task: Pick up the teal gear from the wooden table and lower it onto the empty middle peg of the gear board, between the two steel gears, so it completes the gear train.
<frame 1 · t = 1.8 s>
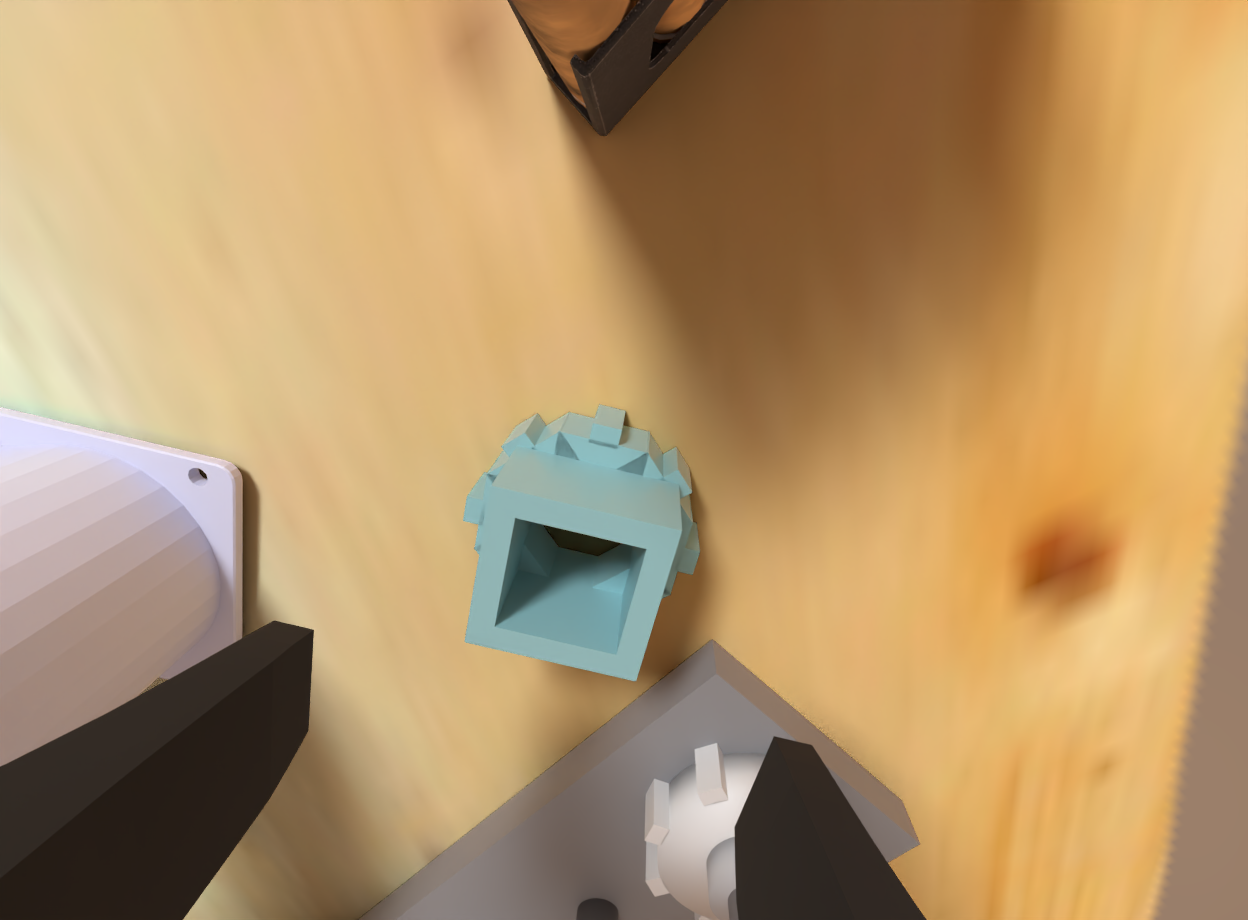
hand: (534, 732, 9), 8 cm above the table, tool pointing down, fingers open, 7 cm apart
gear board: (601, 868, 22), on the table
teal gear: (588, 508, 17), on the table
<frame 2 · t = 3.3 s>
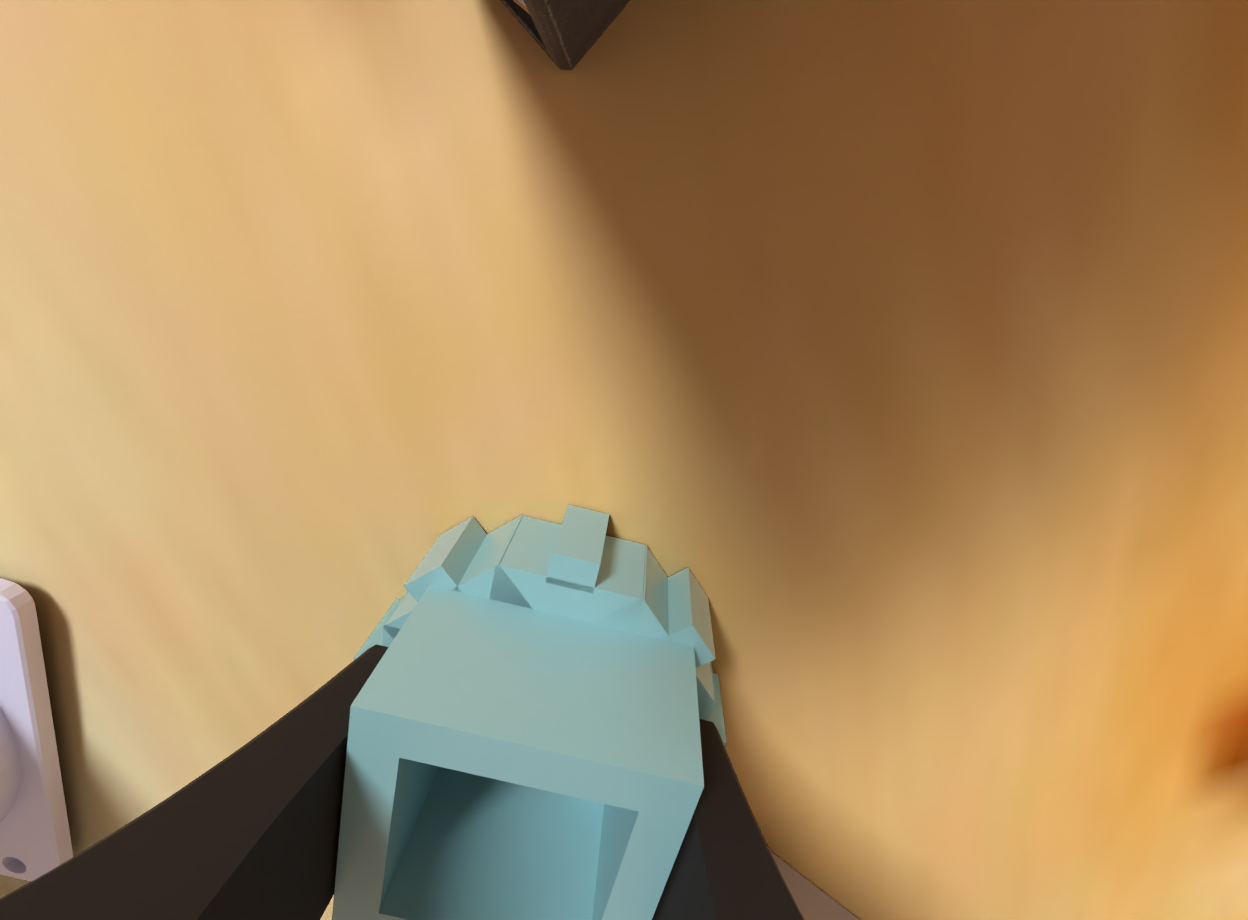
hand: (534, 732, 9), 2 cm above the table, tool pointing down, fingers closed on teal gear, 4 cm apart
teal gear: (554, 651, 11), on the table, touching gripper
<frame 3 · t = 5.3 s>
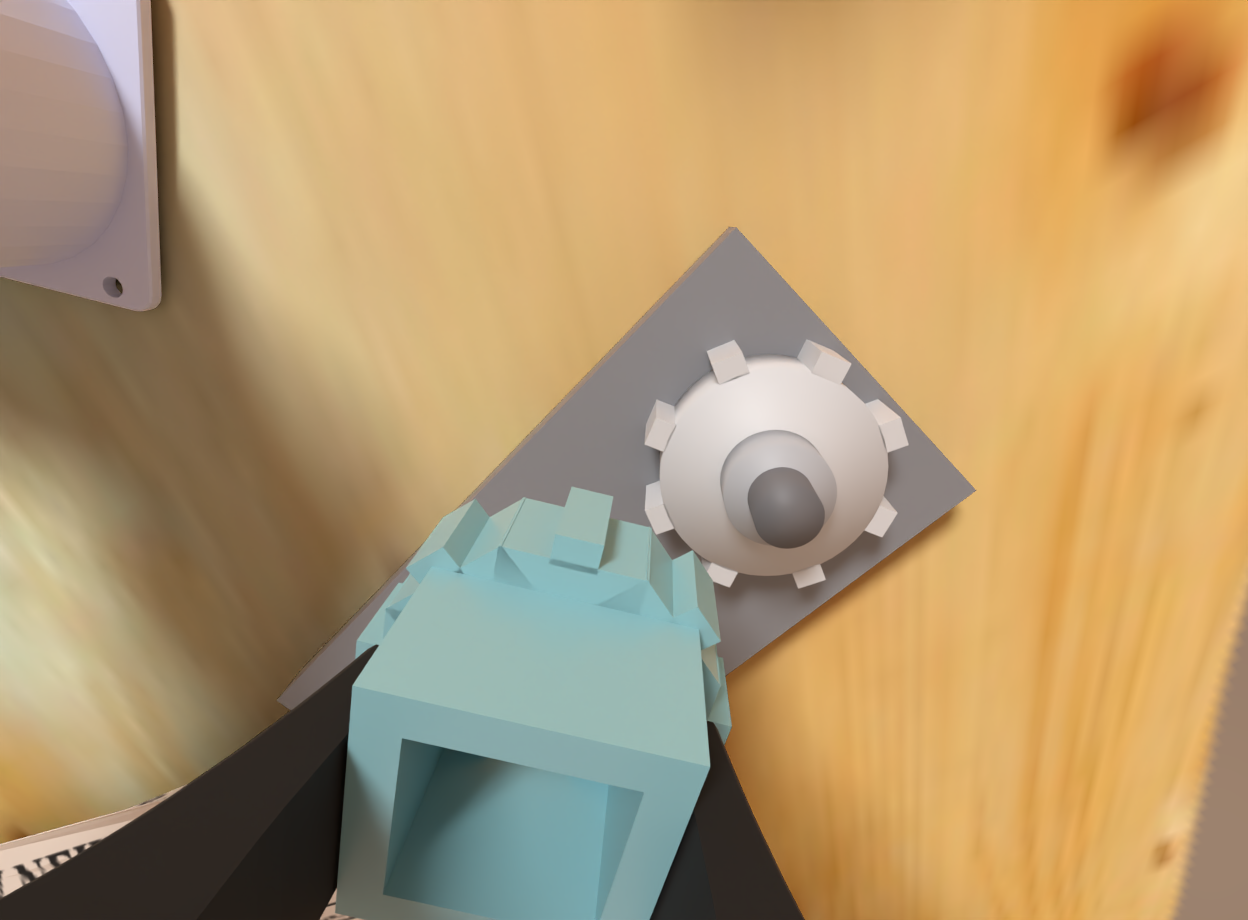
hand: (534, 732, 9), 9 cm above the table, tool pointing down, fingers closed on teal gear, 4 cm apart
newspaper: (119, 885, 27), on the table
gear board: (592, 578, 19), on the table
teal gear: (558, 635, 11), point 7 cm above the table, touching gripper
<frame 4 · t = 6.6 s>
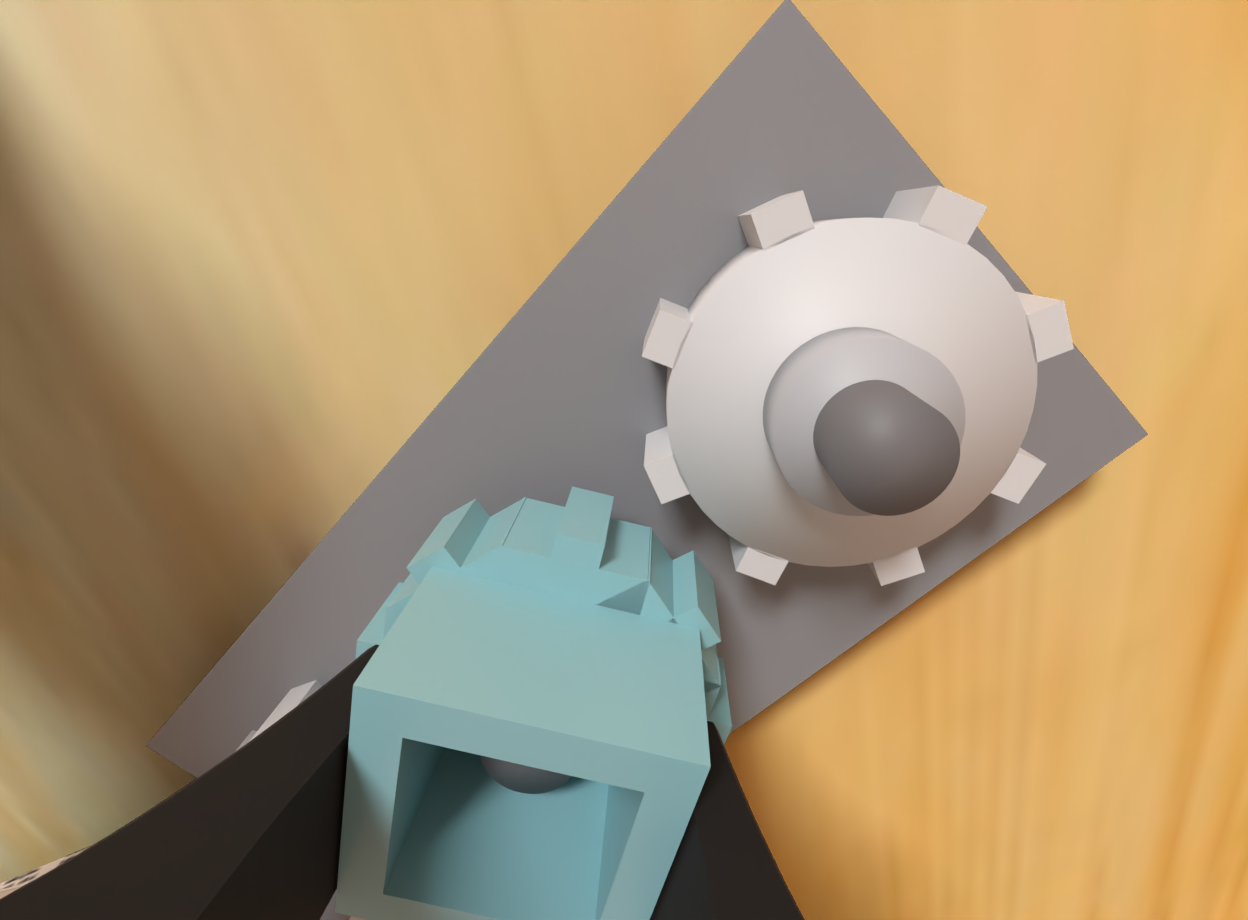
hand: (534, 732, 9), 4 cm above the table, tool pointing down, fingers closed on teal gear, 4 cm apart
gear board: (574, 575, 14), on the table
teal gear: (558, 635, 11), point 3 cm above the table, touching gripper
when the fingers open (4 cm above the table, at t = 7.4 s): teal gear stays where it is, resting on gear board.
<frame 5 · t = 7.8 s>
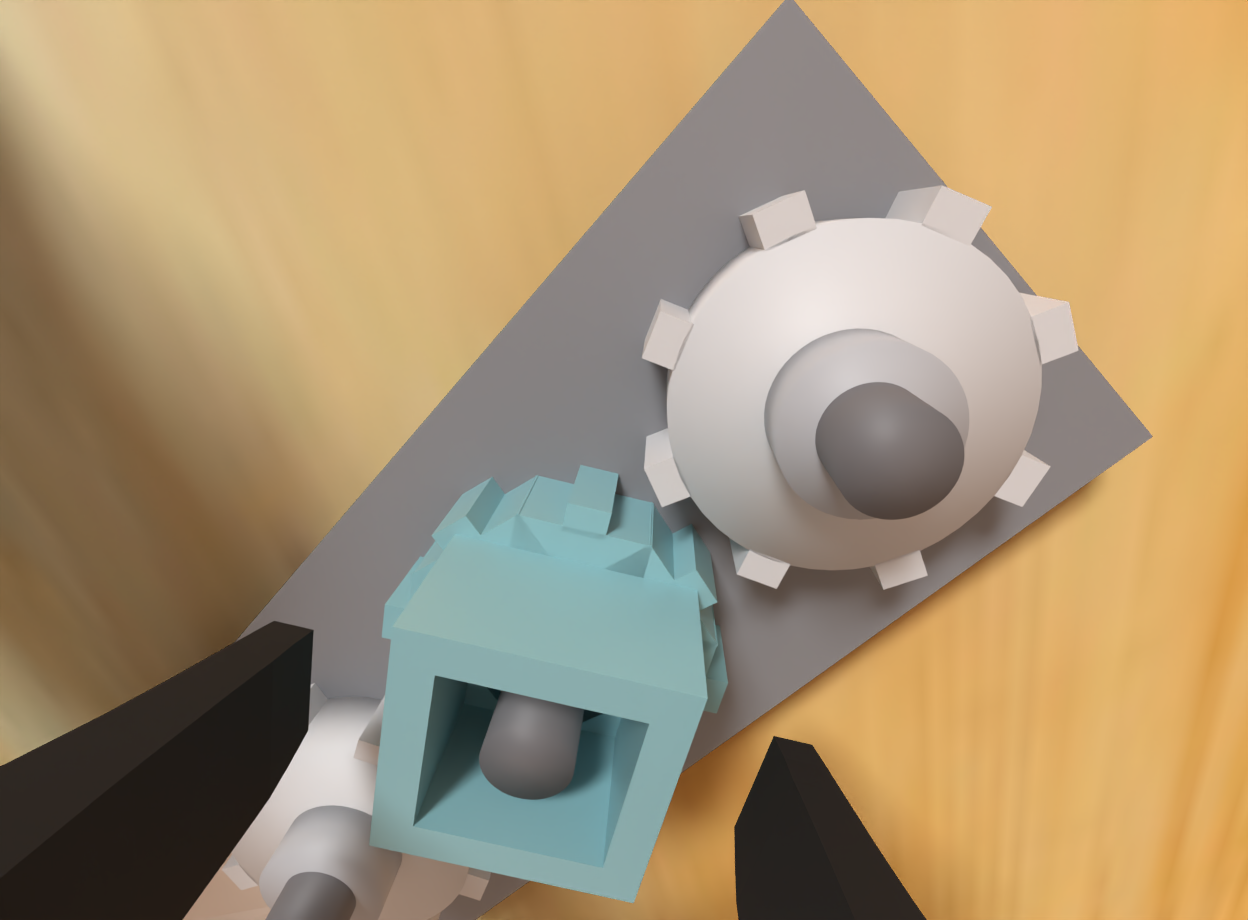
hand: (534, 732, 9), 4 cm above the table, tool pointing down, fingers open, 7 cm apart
gear board: (573, 578, 13), on the table
teal gear: (567, 605, 12), point 1 cm above the table, touching gear board
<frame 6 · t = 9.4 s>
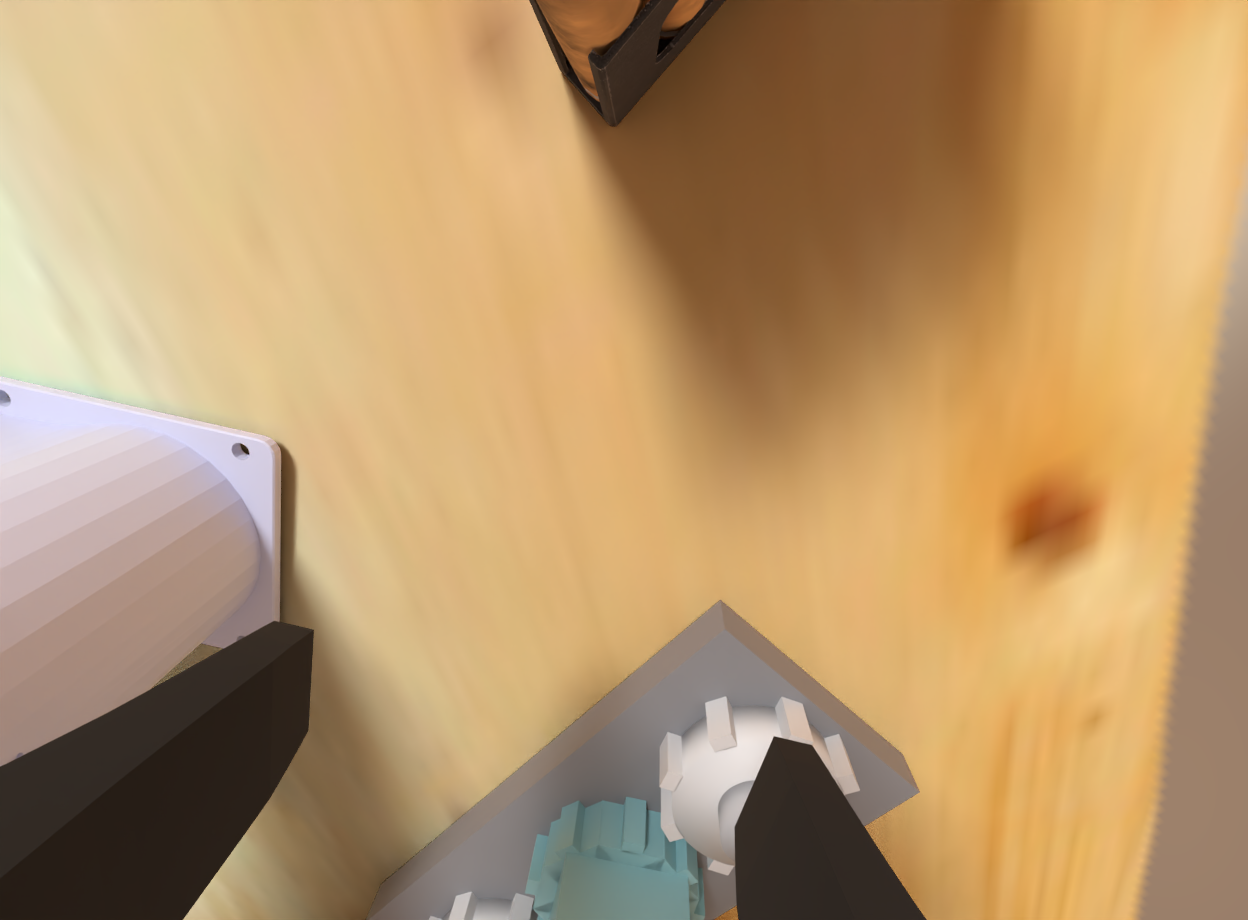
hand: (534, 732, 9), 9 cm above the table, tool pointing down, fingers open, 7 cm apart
gear board: (618, 825, 23), on the table
teal gear: (618, 857, 22), point 1 cm above the table, touching gear board
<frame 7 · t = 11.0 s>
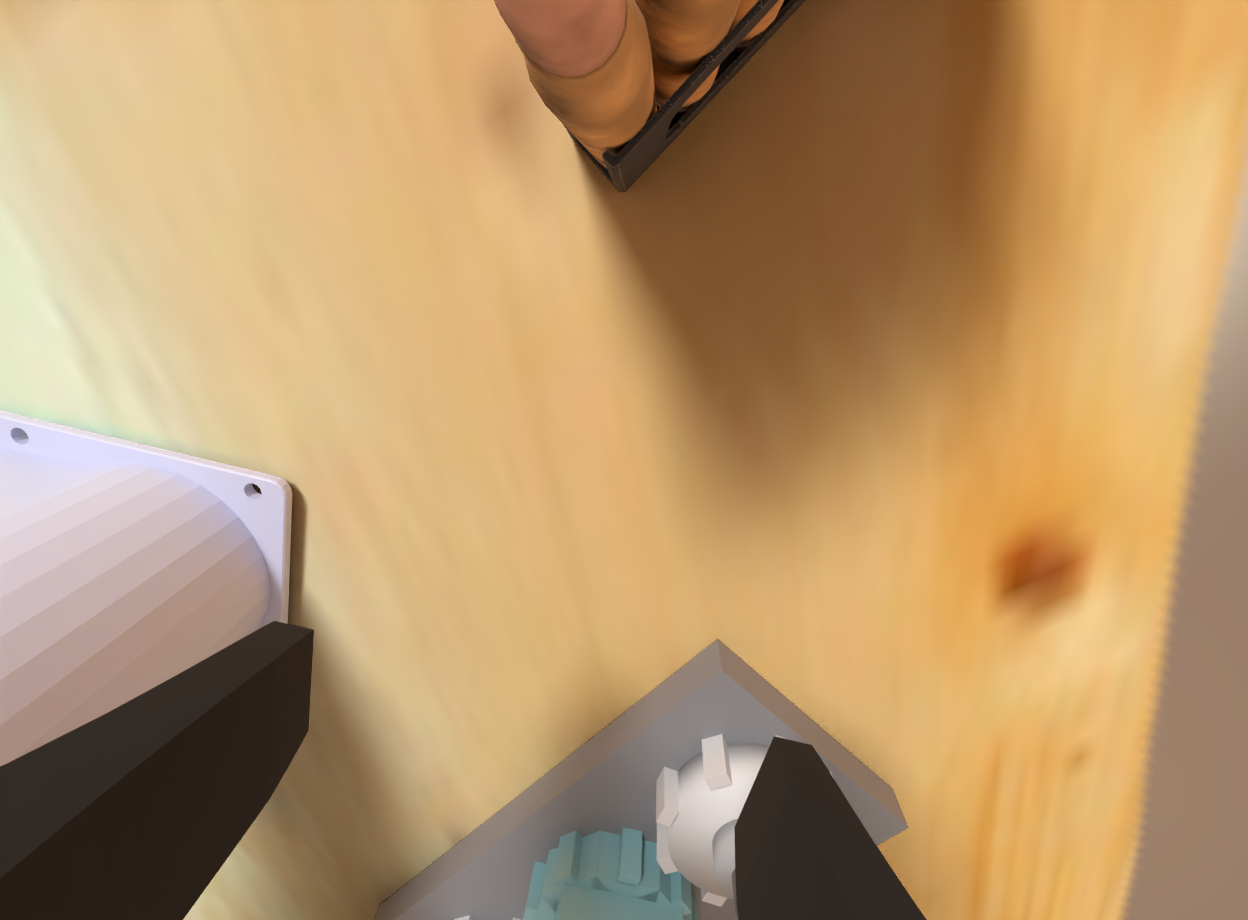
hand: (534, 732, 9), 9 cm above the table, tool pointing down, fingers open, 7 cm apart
gear board: (614, 851, 24), on the table
teal gear: (613, 885, 22), point 1 cm above the table, touching gear board
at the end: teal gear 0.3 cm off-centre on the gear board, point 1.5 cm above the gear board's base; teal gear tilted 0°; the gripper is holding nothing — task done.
